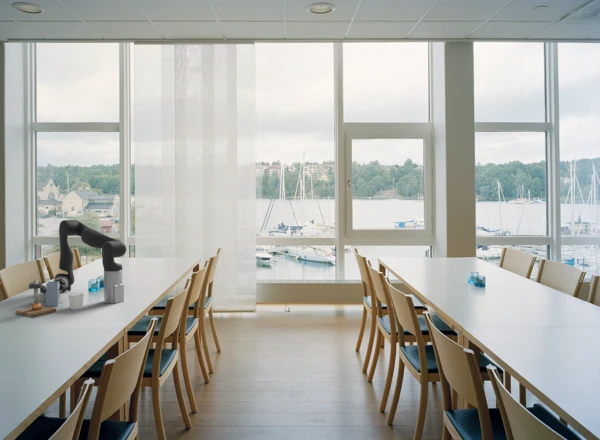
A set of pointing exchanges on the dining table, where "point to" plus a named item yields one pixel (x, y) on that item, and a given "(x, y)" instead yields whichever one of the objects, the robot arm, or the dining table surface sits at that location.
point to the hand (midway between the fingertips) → (53, 291)
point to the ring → (35, 285)
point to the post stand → (36, 307)
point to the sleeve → (53, 293)
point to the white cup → (76, 300)
